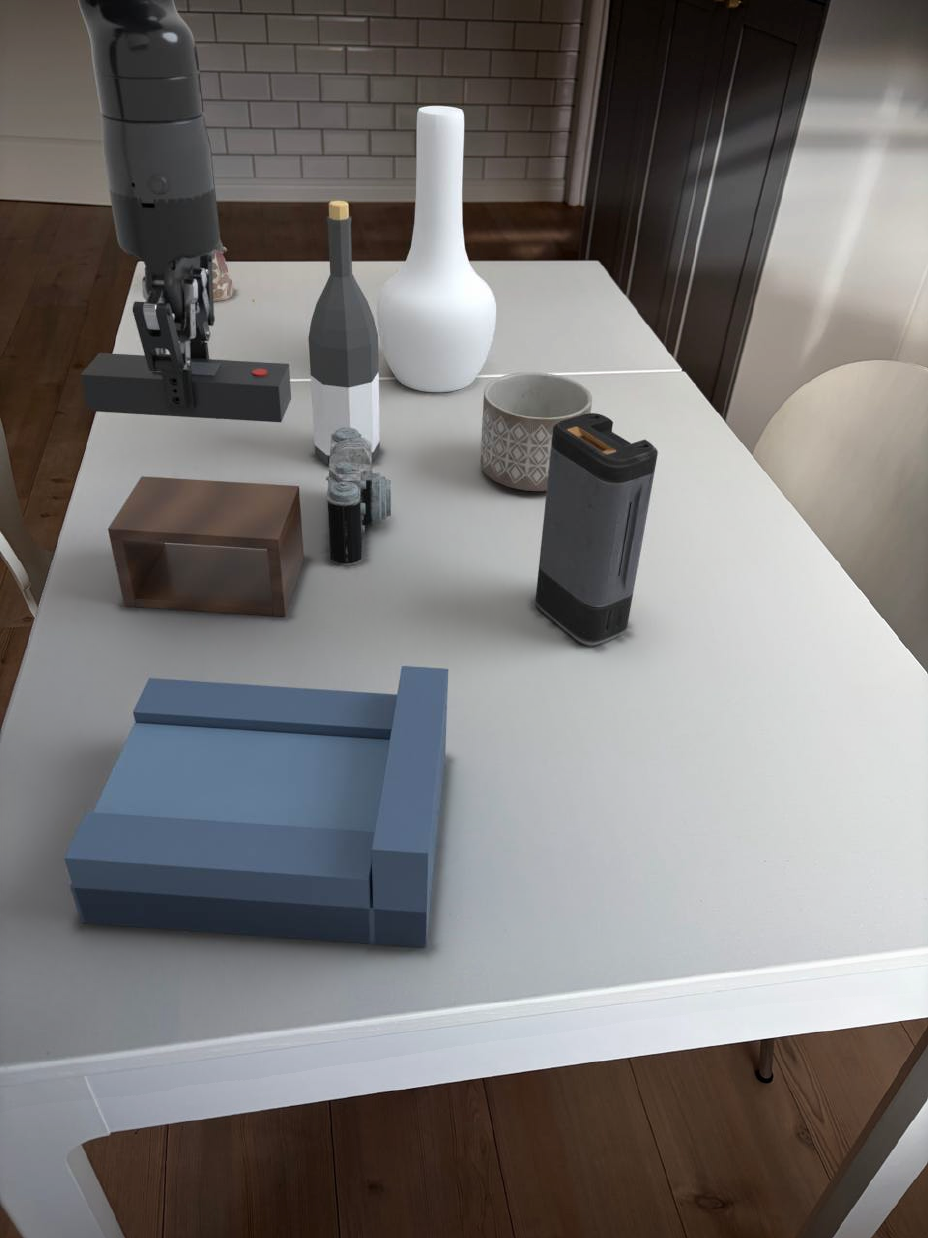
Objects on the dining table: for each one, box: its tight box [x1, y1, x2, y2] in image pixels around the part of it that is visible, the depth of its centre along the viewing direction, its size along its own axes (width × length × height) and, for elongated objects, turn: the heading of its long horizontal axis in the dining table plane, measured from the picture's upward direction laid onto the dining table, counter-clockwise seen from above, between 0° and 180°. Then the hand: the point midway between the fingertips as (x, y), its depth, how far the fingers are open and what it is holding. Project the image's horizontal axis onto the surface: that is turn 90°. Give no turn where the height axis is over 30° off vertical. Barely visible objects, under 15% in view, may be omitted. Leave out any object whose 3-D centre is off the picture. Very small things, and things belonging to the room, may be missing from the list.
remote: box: [80, 352, 292, 423], centre depth 82 cm, size 16×5×3 cm, turn 88°
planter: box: [479, 371, 593, 492], centre depth 119 cm, size 13×13×10 cm
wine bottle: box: [307, 200, 381, 467], centre depth 115 cm, size 8×8×30 cm
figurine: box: [211, 238, 234, 303], centre depth 163 cm, size 7×7×12 cm
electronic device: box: [534, 412, 659, 647], centre depth 93 cm, size 9×6×20 cm, turn 34°
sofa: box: [63, 665, 449, 948], centre depth 72 cm, size 24×18×10 cm
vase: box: [376, 105, 497, 393], centre depth 133 cm, size 17×17×35 cm
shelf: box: [107, 475, 305, 617], centre depth 98 cm, size 16×10×9 cm, turn 87°
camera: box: [325, 428, 392, 566], centre depth 107 cm, size 15×7×10 cm, turn 4°
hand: (190, 396), depth 83 cm, fingers closed on remote, 4 cm apart
